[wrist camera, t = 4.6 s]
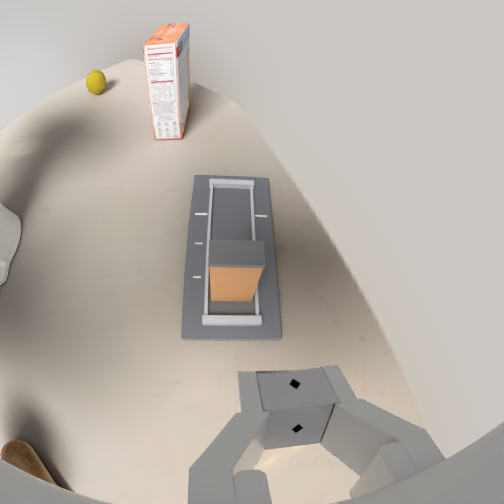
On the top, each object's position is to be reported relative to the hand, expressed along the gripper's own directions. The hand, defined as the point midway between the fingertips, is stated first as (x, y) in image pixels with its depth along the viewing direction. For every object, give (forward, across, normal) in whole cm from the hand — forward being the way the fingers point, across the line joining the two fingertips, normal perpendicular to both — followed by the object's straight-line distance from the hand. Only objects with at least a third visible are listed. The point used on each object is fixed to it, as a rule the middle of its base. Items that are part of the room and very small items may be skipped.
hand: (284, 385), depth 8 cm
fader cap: (+27, 0, -9) cm, 28 cm away
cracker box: (+53, -13, +17) cm, 57 cm away
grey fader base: (+32, 0, -4) cm, 32 cm away
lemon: (+65, -38, +29) cm, 81 cm away
